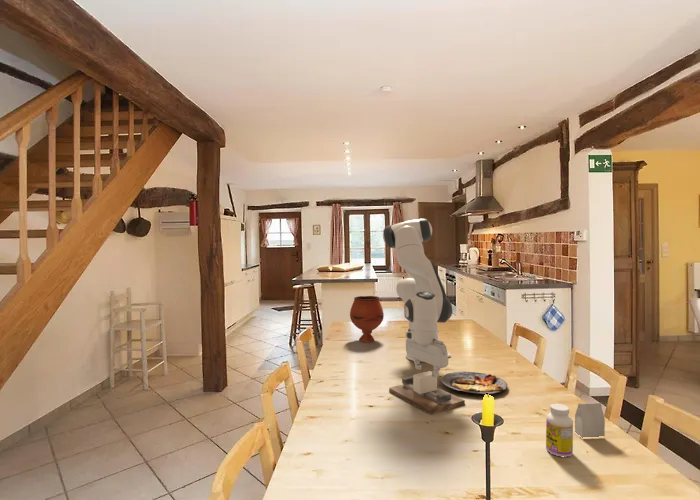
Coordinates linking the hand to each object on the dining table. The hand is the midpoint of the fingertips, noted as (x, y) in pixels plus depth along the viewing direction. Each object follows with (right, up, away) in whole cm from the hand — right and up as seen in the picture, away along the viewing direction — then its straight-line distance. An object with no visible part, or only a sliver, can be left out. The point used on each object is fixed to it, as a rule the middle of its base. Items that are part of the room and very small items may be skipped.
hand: (426, 373), depth 155 cm
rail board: (0, -9, 0) cm, 9 cm away
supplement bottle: (+30, -11, -39) cm, 50 cm away
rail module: (0, -8, 0) cm, 8 cm away
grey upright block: (+43, -10, -30) cm, 54 cm away
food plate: (+21, -9, +11) cm, 25 cm away
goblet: (-19, -6, +84) cm, 86 cm away
